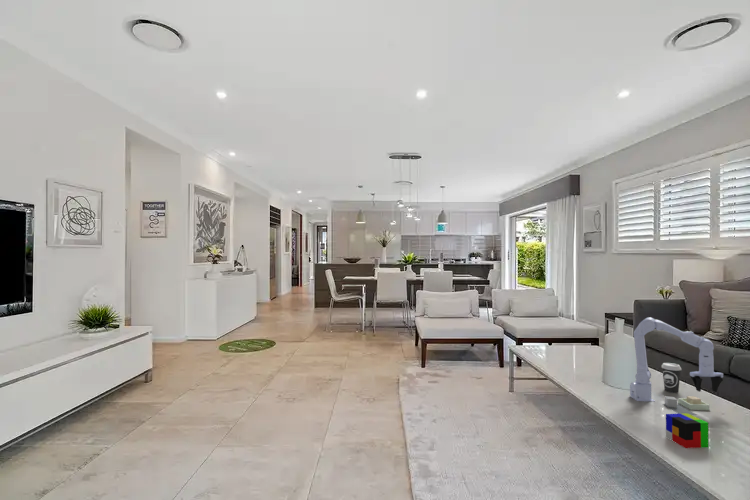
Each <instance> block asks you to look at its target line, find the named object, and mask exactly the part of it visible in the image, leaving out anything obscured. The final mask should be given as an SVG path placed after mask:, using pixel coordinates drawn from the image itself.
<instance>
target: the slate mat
mask: <svg viewBox="0 0 750 500" xmlns="http://www.w3.org/2000/svg"><path fill="white" fill-rule="evenodd" d="M662 406H664V407H666V408H668V409H670V410H672V411H673V412H675V414H682V413H688V414H690V415H692V416H697V414H696V413H695V412H693V411H692V410H690V409H688V408H686V407H685V406H683V405H681V404H677V408H676V407H667V406H666V405H665V403H662Z"/></svg>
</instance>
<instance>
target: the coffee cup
mask: <svg viewBox="0 0 750 500" xmlns="http://www.w3.org/2000/svg"><path fill="white" fill-rule="evenodd" d="M660 368H662V369H661V370H662V377H663V388H664V391H666V392H669V393H675V394H676V393H679V391H680V390H679V389H680V380H681V379H680V378H681V371H682V367H681V366H680V364H678V363H671V362H663V363H662V364H661V367H660Z"/></svg>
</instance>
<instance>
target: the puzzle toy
mask: <svg viewBox="0 0 750 500" xmlns="http://www.w3.org/2000/svg"><path fill="white" fill-rule="evenodd" d="M666 437H667V439H668V438H669V439H668V440H670V439H671V440H670V441H672V440H673V441H674V443H675V442H676V444H677V445H678V446H681V447H683V448H685V449H697V448H698V449H700V448H709V422H708V421H705V420H703V419H701V418H699V417H696V415H690V414H688V413H682V414H678V413H666V414H665V438H666ZM673 441H672V442H673Z"/></svg>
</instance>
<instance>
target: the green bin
mask: <svg viewBox="0 0 750 500" xmlns="http://www.w3.org/2000/svg"><path fill="white" fill-rule="evenodd" d="M677 404H678V405H680V406H682V407H684V408H686V409H687V410H689V411H693V410H696V411H697V410H698V411H710V404H709V403H706V402H705V401H703V400H701V404H689V403H688V402H687V397H686V398H685V397H678V398H677Z"/></svg>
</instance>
